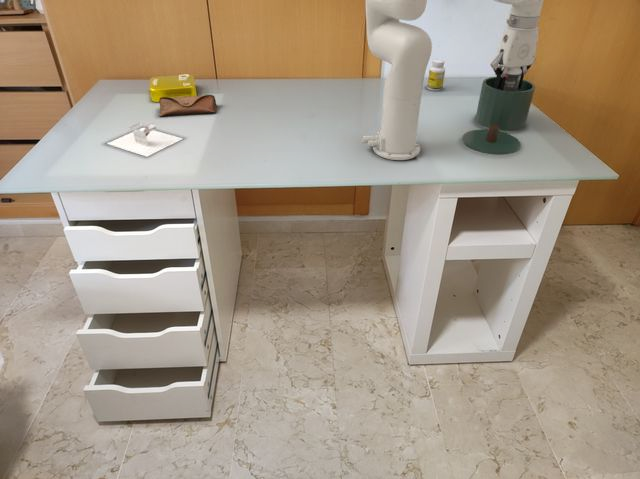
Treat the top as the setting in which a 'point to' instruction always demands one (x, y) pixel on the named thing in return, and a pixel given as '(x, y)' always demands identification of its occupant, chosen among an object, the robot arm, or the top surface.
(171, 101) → the sunglasses case
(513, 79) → the pill bottle
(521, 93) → the tin
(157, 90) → the yellow plastic box
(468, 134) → the lid
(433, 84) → the supplement bottle
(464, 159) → the top surface
